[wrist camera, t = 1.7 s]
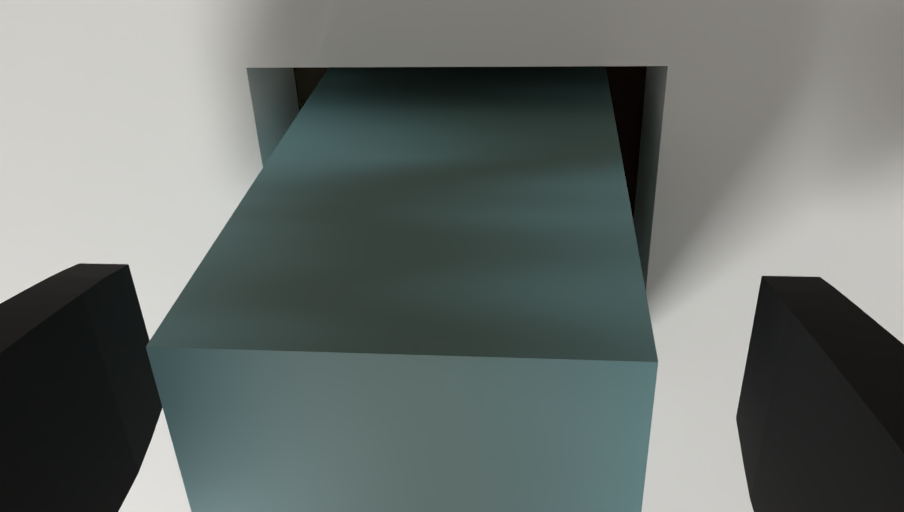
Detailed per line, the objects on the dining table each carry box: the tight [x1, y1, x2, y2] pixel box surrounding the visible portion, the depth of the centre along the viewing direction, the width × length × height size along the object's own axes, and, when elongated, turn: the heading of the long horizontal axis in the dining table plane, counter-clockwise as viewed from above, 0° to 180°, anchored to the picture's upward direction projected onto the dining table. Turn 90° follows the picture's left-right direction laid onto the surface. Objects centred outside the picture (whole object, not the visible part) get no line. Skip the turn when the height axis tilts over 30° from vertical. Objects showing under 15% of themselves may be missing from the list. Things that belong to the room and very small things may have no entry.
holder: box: [0, 0, 904, 512], centre depth 13 cm, size 16×14×2 cm
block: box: [146, 66, 658, 512], centre depth 11 cm, size 4×4×7 cm
